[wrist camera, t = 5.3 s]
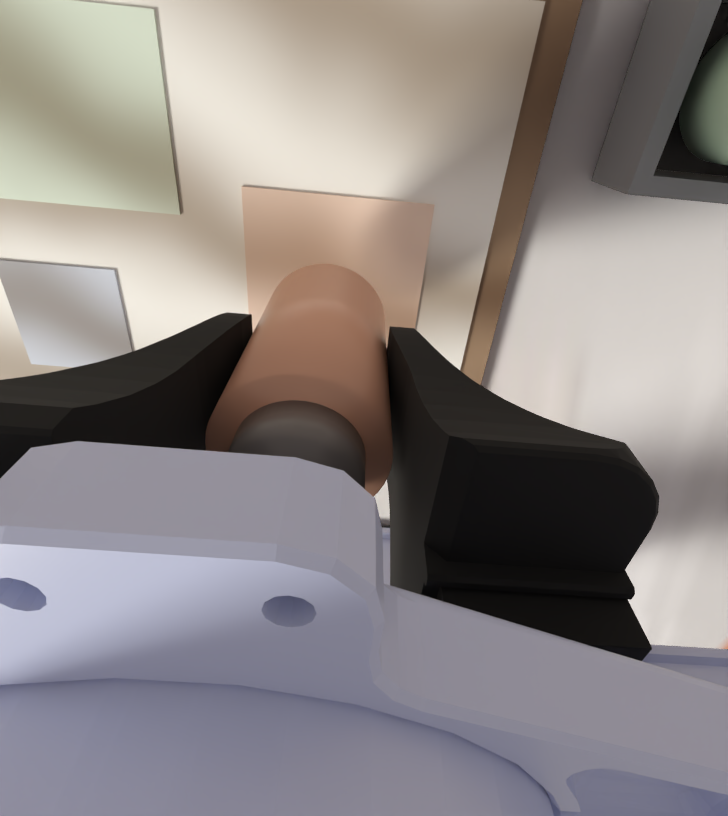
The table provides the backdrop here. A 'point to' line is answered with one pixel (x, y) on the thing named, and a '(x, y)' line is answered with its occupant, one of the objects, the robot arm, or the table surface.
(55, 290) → the beige flat tray
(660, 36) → the button housing
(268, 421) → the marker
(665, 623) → the table surface
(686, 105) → the button
